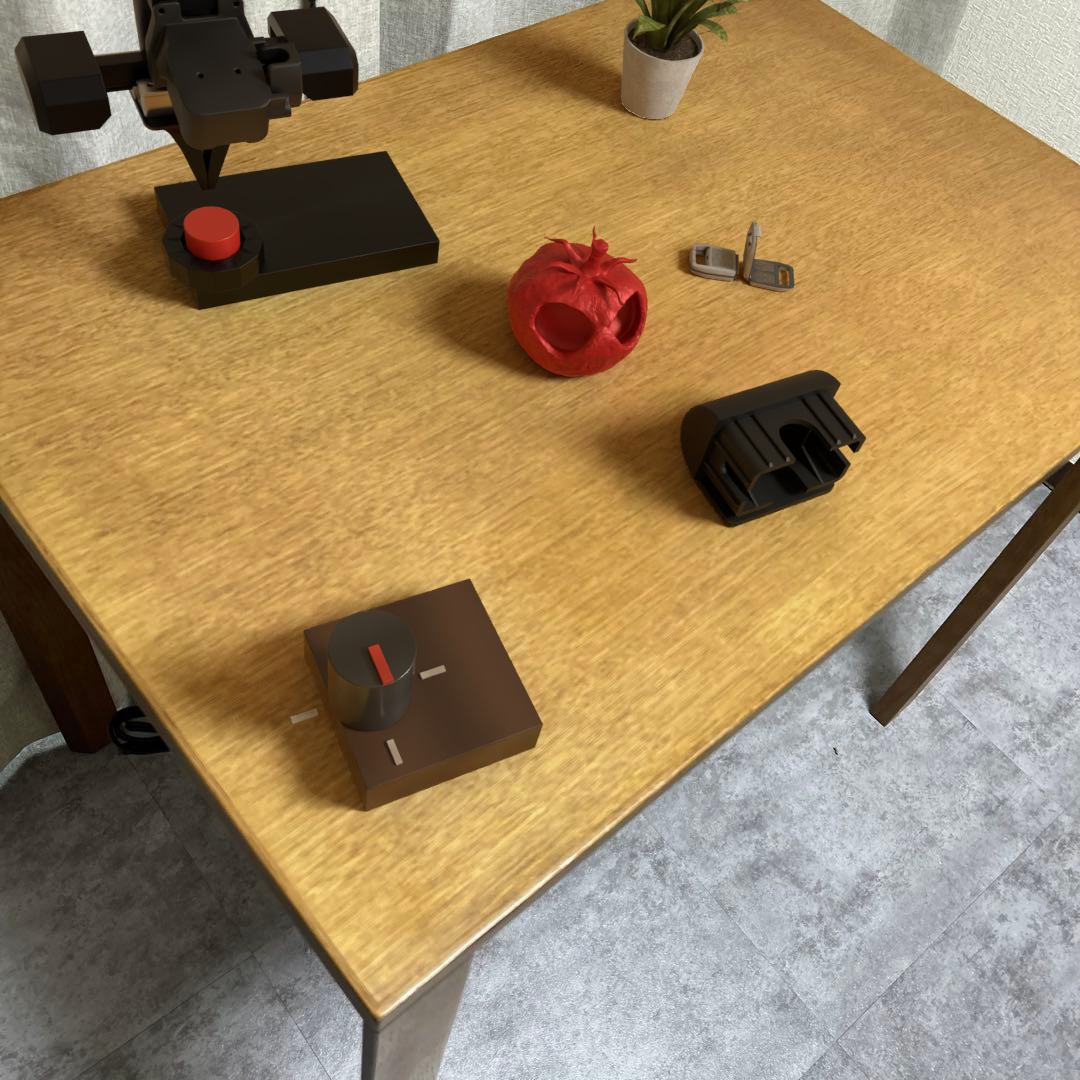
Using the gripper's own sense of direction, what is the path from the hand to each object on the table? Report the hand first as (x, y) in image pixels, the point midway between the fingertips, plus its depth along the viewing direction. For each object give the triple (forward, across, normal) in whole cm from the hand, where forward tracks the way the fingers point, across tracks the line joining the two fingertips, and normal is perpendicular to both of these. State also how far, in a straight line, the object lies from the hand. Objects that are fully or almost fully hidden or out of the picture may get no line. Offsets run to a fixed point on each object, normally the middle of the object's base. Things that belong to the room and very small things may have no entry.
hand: (206, 186), depth 72 cm
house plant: (+8, +42, +11) cm, 44 cm away
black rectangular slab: (+8, +7, +3) cm, 11 cm away
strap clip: (+8, +39, -10) cm, 41 cm away
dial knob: (+5, -2, -36) cm, 36 cm away
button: (+5, 0, 0) cm, 5 cm away
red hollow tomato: (+8, +22, -13) cm, 27 cm away
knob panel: (+9, 0, -36) cm, 37 cm away
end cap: (+9, +29, -28) cm, 41 cm away
